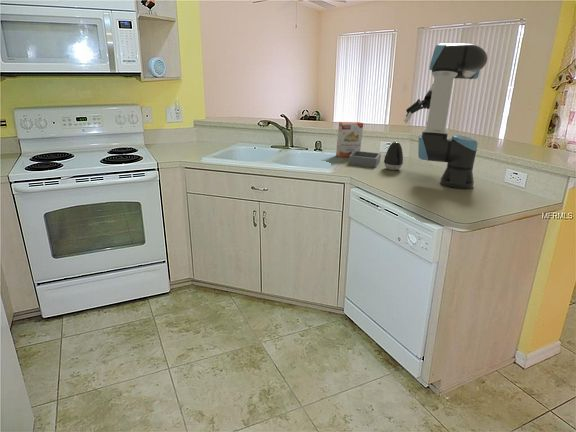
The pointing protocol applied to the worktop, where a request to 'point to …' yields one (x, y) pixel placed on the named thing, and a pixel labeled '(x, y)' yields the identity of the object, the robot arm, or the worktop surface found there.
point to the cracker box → (349, 138)
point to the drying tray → (364, 158)
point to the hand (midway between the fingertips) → (415, 123)
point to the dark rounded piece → (394, 157)
